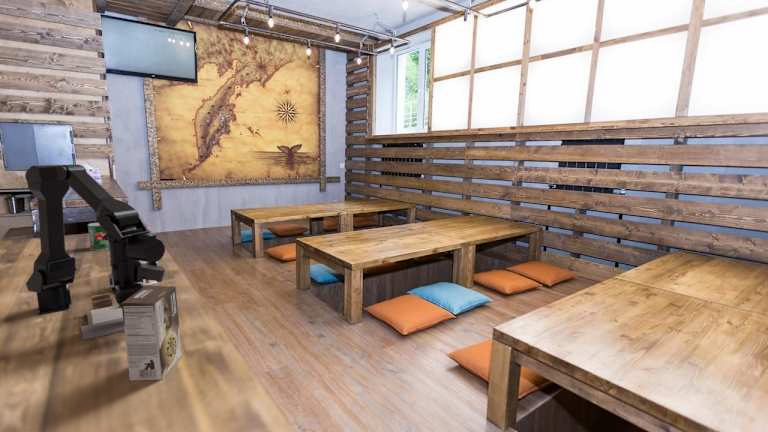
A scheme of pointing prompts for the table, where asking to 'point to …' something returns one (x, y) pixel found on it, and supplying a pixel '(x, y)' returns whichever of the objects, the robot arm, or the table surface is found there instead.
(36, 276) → the robot arm
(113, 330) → the mat
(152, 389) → the table surface
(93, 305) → the post left
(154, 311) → the coffee box
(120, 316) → the rail
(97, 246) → the canned tomato
